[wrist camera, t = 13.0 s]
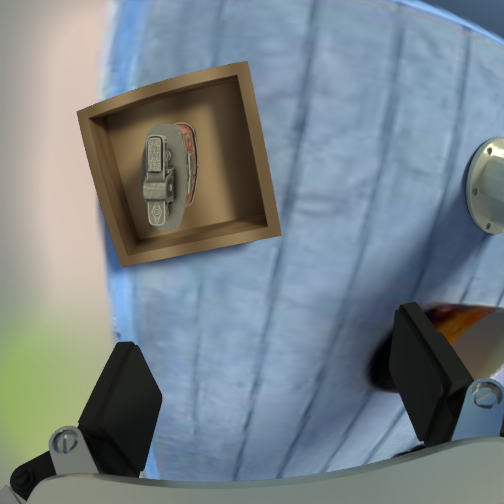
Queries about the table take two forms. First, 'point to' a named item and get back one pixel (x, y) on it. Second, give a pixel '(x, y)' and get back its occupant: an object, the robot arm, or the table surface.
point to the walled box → (210, 159)
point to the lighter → (169, 173)
